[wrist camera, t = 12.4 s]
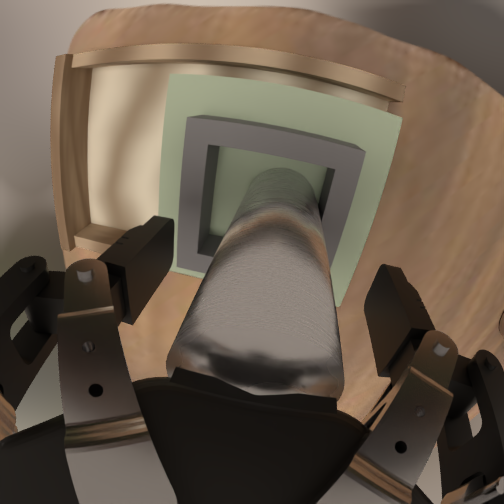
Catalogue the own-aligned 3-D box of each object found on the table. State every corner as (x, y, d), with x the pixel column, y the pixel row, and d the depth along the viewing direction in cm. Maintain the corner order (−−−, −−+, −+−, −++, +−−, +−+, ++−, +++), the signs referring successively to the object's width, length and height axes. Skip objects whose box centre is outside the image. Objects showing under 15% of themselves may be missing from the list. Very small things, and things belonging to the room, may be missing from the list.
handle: (323, 176, 15) (376, 345, 5) (307, 239, 17) (311, 433, 7) (251, 161, 15) (160, 304, 5) (241, 226, 17) (171, 407, 7)
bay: (387, 88, 18) (411, 85, 13) (332, 280, 27) (337, 314, 22) (91, 58, 19) (56, 56, 14) (89, 227, 28) (61, 249, 23)
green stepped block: (374, 113, 18) (420, 121, 11) (331, 262, 24) (343, 331, 17) (201, 79, 18) (149, 70, 11) (186, 231, 25) (143, 288, 18)
